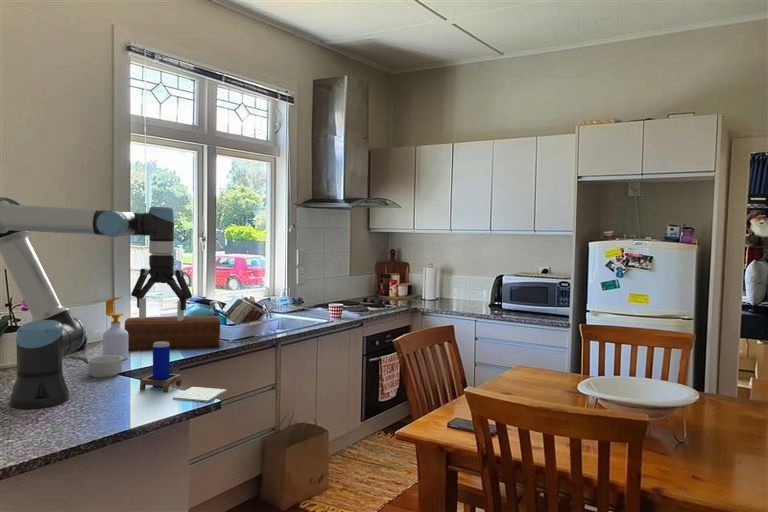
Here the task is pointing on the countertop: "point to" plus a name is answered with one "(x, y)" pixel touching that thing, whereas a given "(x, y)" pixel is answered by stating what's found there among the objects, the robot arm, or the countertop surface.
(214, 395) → the coaster
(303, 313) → the countertop surface
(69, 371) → the countertop surface
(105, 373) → the saucepan
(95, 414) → the countertop surface
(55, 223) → the robot arm
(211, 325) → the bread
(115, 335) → the soap bottle
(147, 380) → the brown square stand
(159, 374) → the beverage can
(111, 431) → the countertop surface
